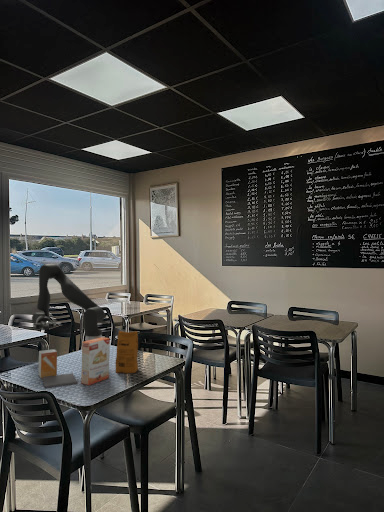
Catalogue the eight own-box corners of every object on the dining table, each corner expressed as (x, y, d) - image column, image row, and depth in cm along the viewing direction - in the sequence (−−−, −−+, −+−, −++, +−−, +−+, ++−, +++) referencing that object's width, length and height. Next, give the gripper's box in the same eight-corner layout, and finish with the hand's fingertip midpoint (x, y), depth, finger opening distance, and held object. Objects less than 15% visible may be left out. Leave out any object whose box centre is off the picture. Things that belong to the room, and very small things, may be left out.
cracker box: (89, 386, 177) (89, 343, 177) (80, 383, 180) (81, 341, 180) (109, 378, 189) (110, 337, 189) (101, 376, 192) (102, 336, 192)
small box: (40, 378, 187) (41, 353, 187) (38, 375, 192) (38, 350, 192) (57, 376, 192) (57, 351, 192) (54, 372, 197) (54, 348, 197)
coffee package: (118, 367, 207) (119, 329, 207) (140, 368, 206) (140, 329, 206) (112, 373, 197) (113, 332, 197) (135, 374, 196) (135, 333, 196)
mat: (72, 375, 193) (72, 373, 193) (77, 383, 181) (77, 381, 181) (42, 379, 187) (42, 377, 187) (44, 388, 174) (45, 386, 174)
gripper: (31, 316, 213) (33, 321, 198) (55, 315, 219) (58, 320, 204) (31, 329, 213) (33, 335, 198) (55, 327, 219) (58, 333, 204)
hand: (46, 327), depth 201 cm, fingers closed
